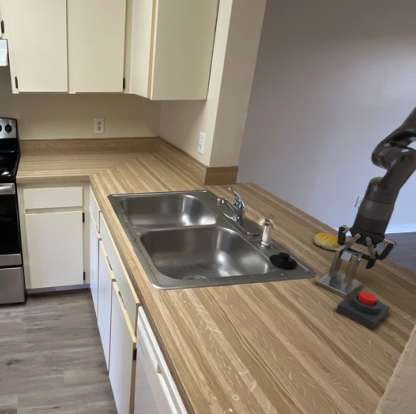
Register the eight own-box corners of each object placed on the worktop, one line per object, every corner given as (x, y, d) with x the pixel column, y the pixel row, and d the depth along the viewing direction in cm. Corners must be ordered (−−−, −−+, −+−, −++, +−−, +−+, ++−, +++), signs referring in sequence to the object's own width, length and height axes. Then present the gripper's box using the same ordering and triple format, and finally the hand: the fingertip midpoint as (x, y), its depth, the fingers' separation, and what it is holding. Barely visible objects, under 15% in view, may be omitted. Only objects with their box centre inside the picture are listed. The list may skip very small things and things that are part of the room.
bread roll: (322, 237, 125) (325, 228, 124) (346, 248, 118) (350, 238, 116) (307, 241, 123) (309, 231, 121) (330, 253, 115) (333, 243, 113)
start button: (360, 295, 89) (363, 290, 88) (377, 302, 86) (379, 297, 85) (355, 300, 87) (357, 294, 86) (371, 308, 84) (373, 302, 83)
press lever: (348, 253, 103) (351, 247, 103) (369, 262, 99) (372, 254, 99) (333, 255, 96) (337, 248, 96) (355, 264, 92) (359, 256, 91)
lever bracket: (331, 272, 104) (342, 240, 99) (360, 285, 98) (373, 251, 93) (315, 283, 99) (326, 249, 94) (345, 298, 93) (358, 262, 88)
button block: (352, 297, 93) (357, 285, 92) (387, 313, 87) (392, 301, 86) (336, 310, 88) (340, 298, 87) (371, 329, 82) (377, 316, 80)
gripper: (410, 219, 91) (389, 270, 98) (351, 202, 102) (335, 249, 109) (400, 226, 88) (379, 279, 94) (340, 208, 99) (324, 256, 105)
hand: (356, 263), depth 102 cm, fingers closed on press lever, 5 cm apart
